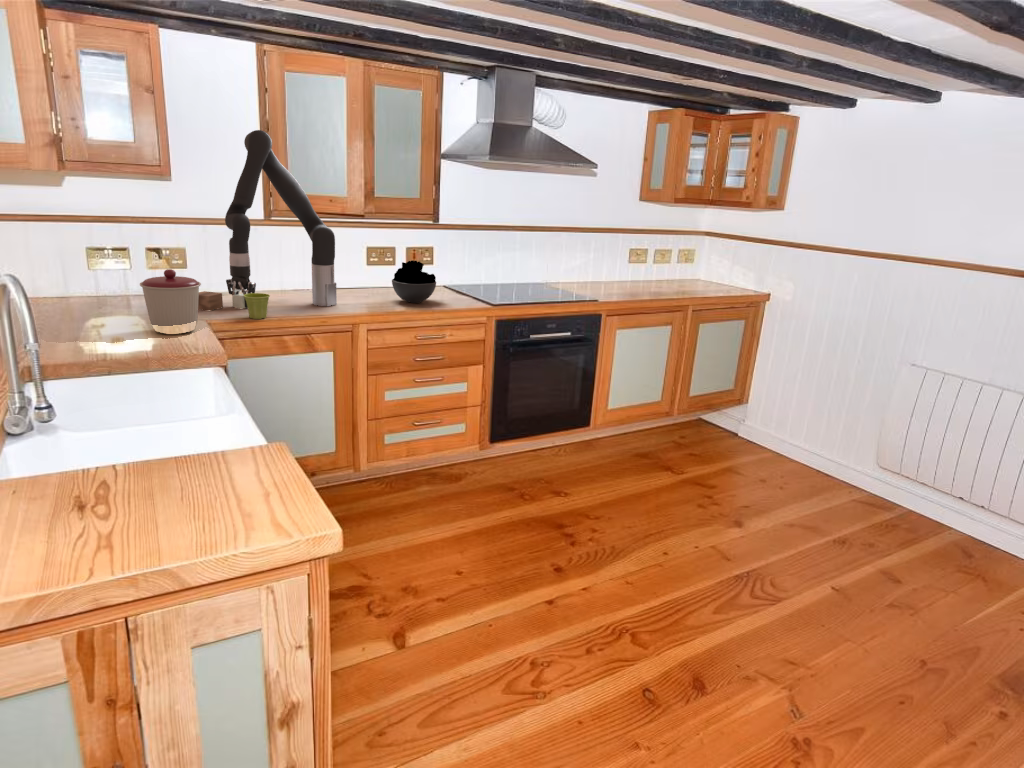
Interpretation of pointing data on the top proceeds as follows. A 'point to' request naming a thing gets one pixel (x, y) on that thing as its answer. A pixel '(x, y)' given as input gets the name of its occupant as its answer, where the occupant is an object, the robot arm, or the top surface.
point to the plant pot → (257, 305)
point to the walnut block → (210, 300)
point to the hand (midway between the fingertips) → (242, 306)
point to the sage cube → (238, 301)
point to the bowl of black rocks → (413, 282)
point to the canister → (171, 299)
